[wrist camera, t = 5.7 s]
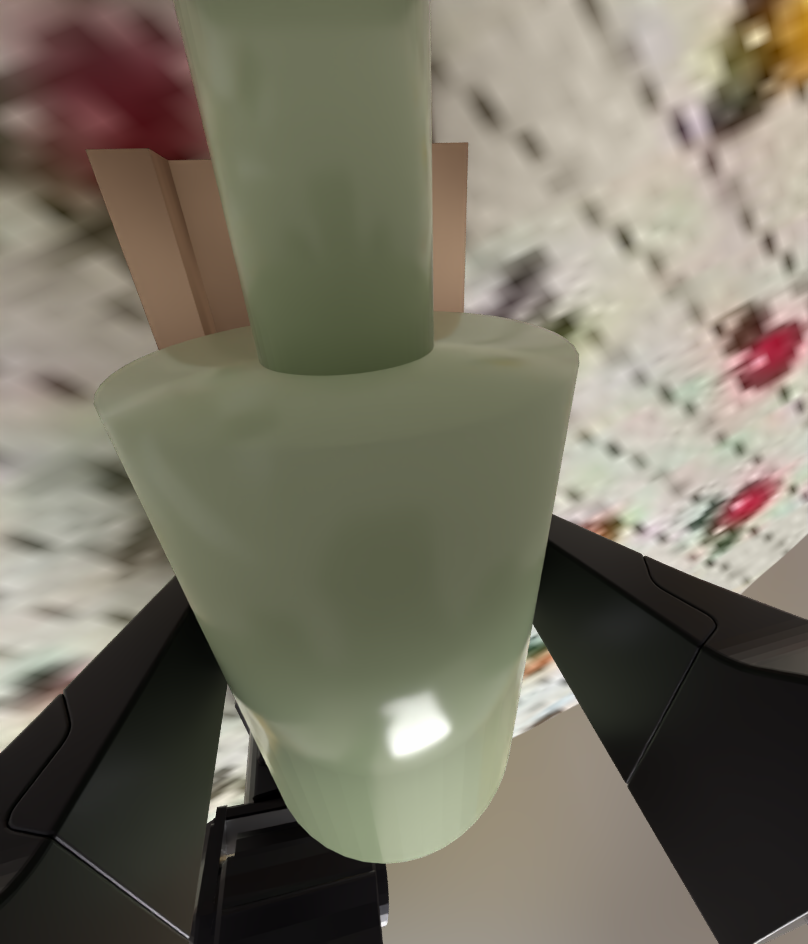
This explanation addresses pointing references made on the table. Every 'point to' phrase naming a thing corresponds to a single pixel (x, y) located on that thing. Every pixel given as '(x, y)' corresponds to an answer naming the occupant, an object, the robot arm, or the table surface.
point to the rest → (208, 244)
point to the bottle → (348, 437)
